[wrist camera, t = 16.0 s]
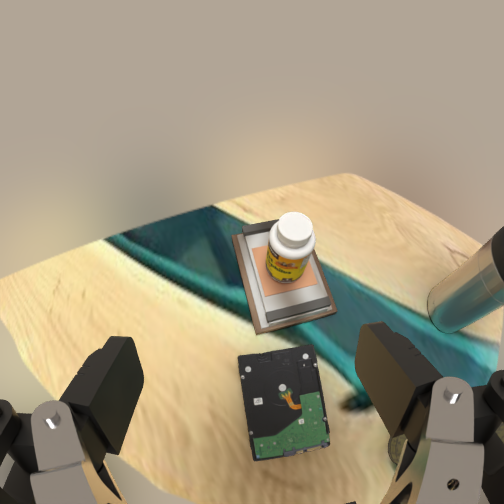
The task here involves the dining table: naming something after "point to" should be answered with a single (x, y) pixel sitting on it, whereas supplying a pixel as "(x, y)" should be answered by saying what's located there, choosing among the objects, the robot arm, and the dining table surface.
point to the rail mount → (279, 285)
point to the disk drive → (283, 402)
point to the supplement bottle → (289, 247)
